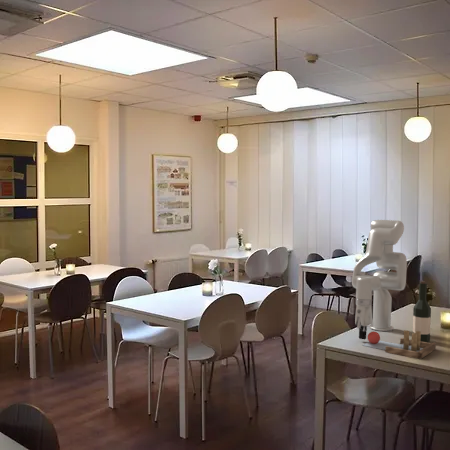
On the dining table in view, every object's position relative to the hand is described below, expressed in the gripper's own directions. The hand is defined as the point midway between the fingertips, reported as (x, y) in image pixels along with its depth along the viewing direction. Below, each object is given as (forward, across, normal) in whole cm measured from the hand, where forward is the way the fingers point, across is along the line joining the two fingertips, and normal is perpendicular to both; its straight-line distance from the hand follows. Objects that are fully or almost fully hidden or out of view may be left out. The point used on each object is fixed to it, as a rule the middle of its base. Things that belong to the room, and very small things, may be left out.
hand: (362, 338), depth 270 cm
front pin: (+2, +1, -22) cm, 22 cm away
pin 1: (+2, -2, -26) cm, 26 cm away
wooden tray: (+2, +1, -24) cm, 24 cm away
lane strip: (+2, +1, -17) cm, 17 cm away
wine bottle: (+2, +23, -21) cm, 31 cm away
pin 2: (+2, +4, -26) cm, 26 cm away
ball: (-2, 0, -6) cm, 6 cm away
